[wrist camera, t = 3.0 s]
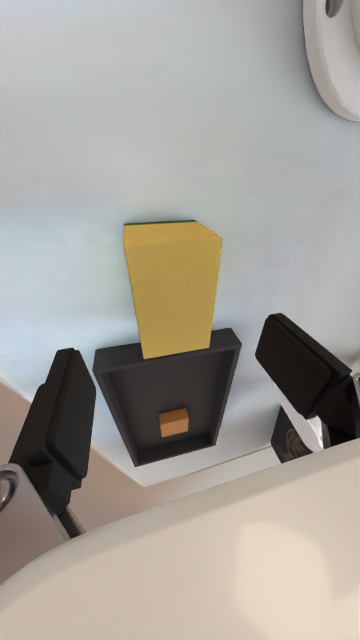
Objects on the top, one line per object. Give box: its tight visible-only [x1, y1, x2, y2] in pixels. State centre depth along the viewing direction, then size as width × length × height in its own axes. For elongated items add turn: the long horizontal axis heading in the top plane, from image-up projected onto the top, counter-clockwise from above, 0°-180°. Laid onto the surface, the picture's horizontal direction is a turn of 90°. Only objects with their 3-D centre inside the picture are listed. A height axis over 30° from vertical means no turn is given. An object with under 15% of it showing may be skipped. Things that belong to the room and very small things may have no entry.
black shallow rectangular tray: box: [92, 328, 242, 467], centre depth 27 cm, size 25×14×3 cm, turn 0°
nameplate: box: [271, 406, 323, 464], centre depth 39 cm, size 21×2×10 cm, turn 11°
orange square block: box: [159, 408, 189, 437], centre depth 28 cm, size 4×4×2 cm
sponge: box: [124, 220, 222, 359], centre depth 14 cm, size 8×5×5 cm, turn 0°
